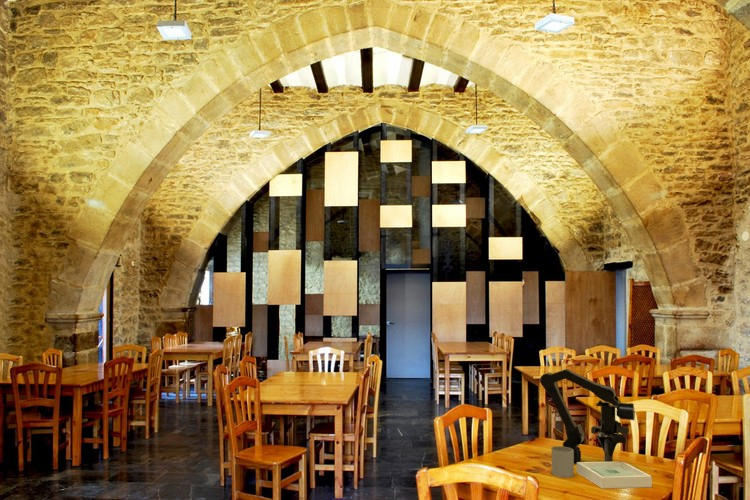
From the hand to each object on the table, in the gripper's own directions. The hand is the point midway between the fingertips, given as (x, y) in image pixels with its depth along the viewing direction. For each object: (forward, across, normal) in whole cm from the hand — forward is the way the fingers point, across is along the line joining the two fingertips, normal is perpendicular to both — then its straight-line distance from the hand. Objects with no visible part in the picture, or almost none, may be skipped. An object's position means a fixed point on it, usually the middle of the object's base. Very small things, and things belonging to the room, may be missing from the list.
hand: (608, 455), depth 250 cm
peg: (+3, 0, 0) cm, 3 cm away
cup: (+5, -8, +24) cm, 26 cm away
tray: (+5, -16, +7) cm, 18 cm away
